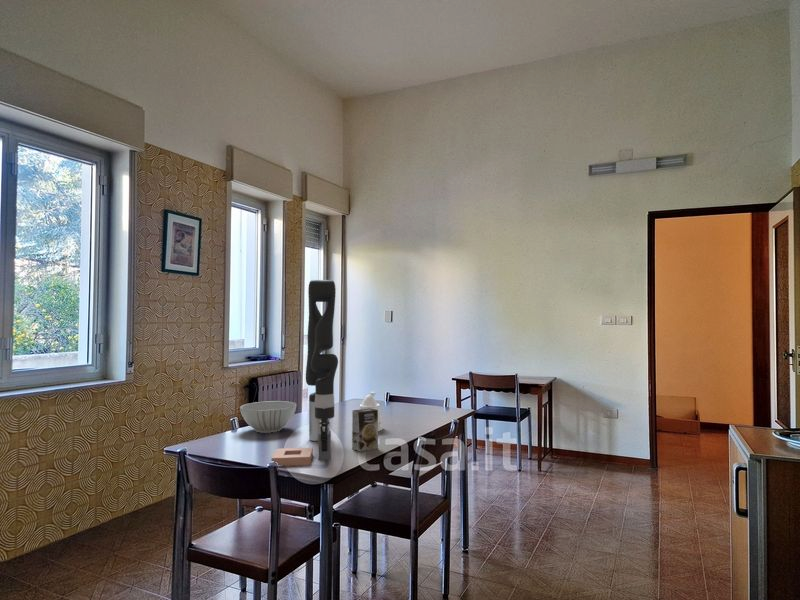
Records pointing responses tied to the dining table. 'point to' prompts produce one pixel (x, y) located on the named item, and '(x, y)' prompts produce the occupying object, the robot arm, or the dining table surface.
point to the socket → (293, 456)
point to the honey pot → (372, 407)
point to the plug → (327, 454)
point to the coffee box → (364, 429)
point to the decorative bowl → (268, 415)
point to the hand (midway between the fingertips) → (324, 449)
